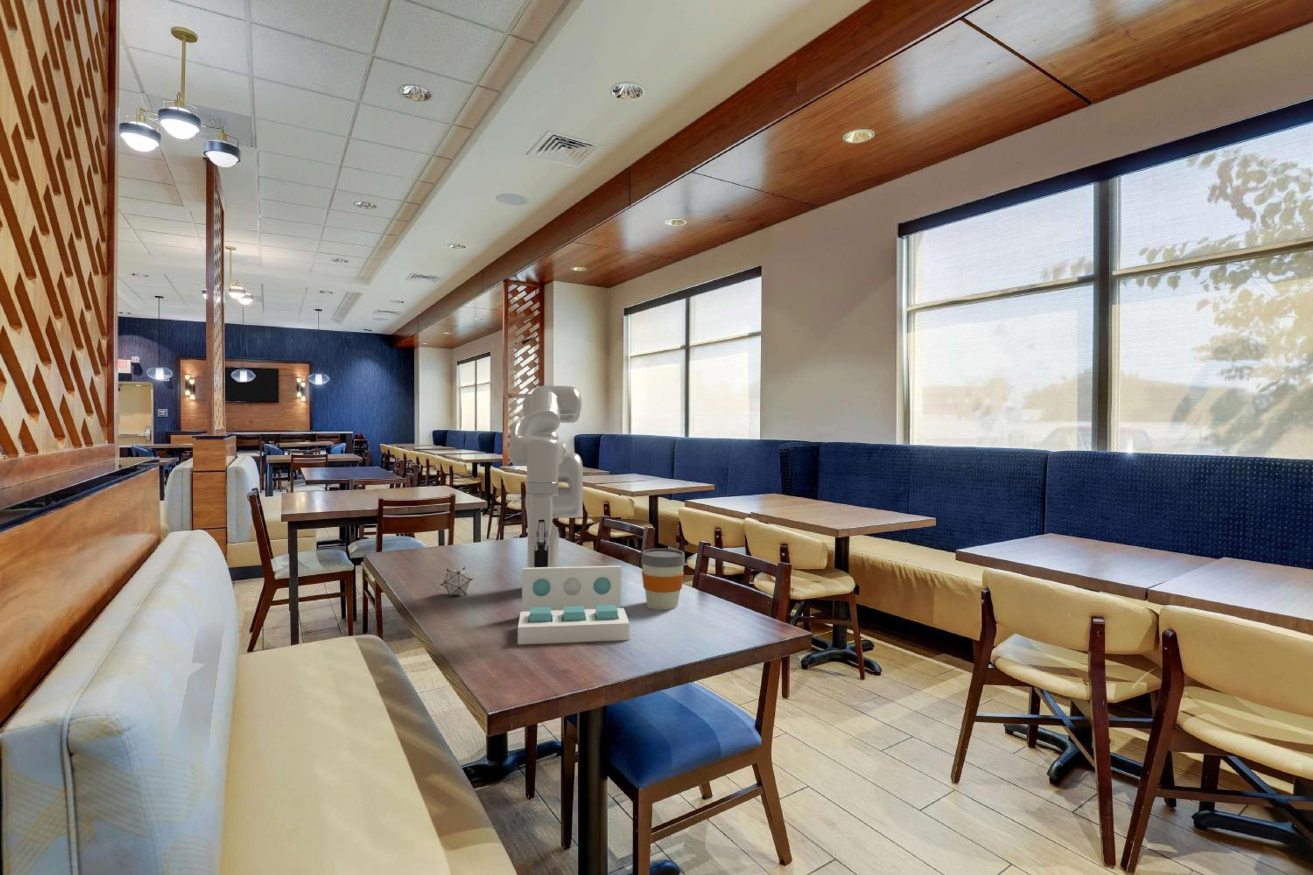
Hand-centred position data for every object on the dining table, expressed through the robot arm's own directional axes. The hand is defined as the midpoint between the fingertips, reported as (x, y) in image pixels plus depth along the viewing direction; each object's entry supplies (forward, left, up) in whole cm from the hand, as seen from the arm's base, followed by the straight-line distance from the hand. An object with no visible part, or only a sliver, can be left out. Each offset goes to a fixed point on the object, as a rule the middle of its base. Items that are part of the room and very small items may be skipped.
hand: (541, 563), depth 147 cm
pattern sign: (-14, +8, -17) cm, 24 cm away
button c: (0, +16, -15) cm, 22 cm away
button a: (0, 0, -15) cm, 15 cm away
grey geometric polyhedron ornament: (-37, -25, -18) cm, 48 cm away
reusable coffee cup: (-21, +34, -18) cm, 44 cm away
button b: (0, +8, -15) cm, 17 cm away
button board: (0, +8, -17) cm, 19 cm away
